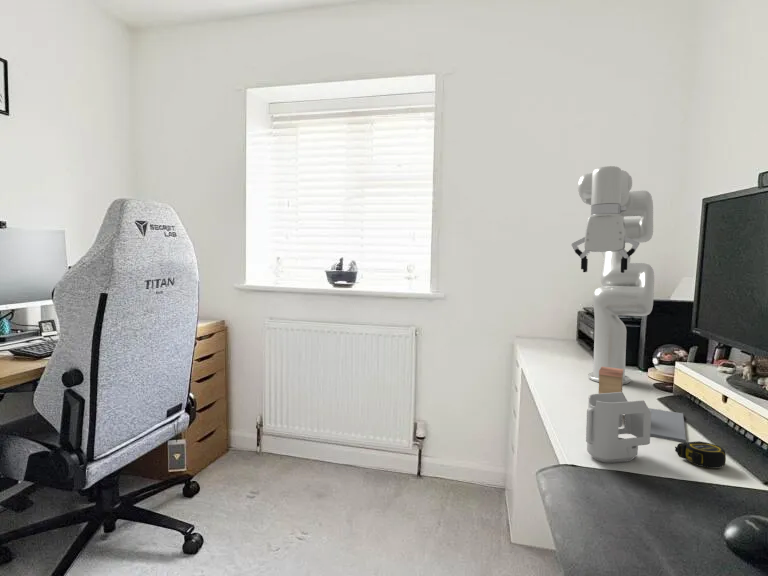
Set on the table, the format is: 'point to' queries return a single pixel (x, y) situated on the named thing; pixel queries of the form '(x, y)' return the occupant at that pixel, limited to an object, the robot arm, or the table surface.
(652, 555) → the table surface
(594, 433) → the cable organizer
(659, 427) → the rubber mat
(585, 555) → the table surface
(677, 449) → the tape measure
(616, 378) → the oak block
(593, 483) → the table surface
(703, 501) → the table surface
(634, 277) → the robot arm
